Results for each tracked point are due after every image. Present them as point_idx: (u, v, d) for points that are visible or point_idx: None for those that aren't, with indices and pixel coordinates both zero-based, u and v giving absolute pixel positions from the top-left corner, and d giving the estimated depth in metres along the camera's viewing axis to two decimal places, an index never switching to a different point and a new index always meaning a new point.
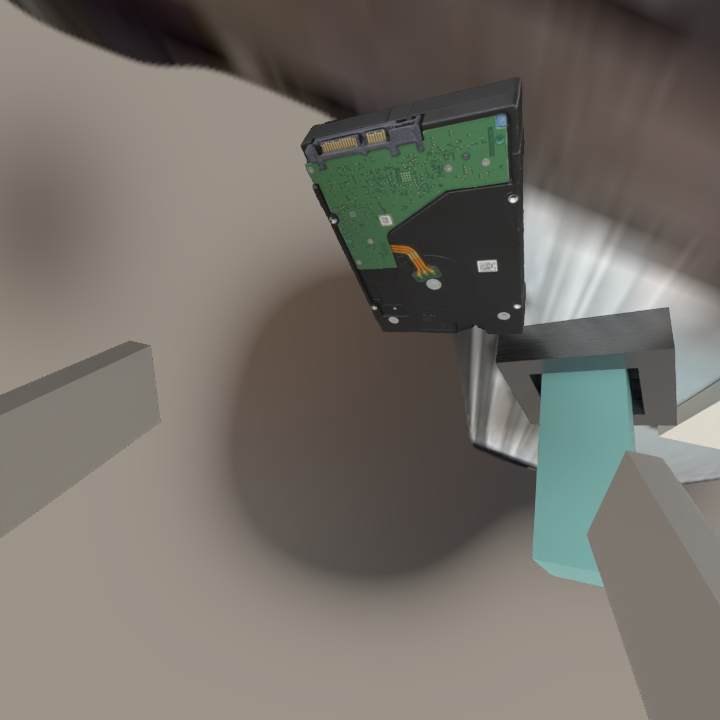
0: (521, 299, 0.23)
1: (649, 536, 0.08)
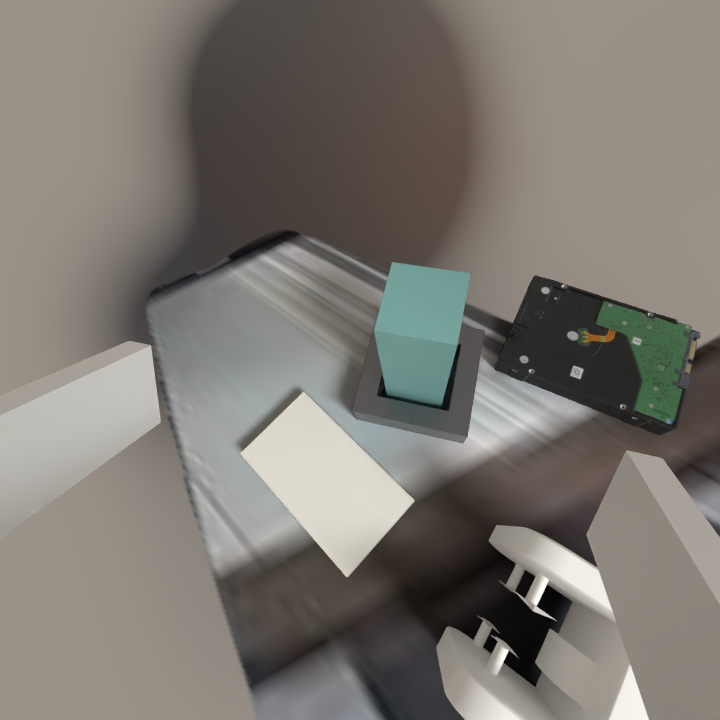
0: (537, 376, 0.34)
1: (650, 536, 0.08)
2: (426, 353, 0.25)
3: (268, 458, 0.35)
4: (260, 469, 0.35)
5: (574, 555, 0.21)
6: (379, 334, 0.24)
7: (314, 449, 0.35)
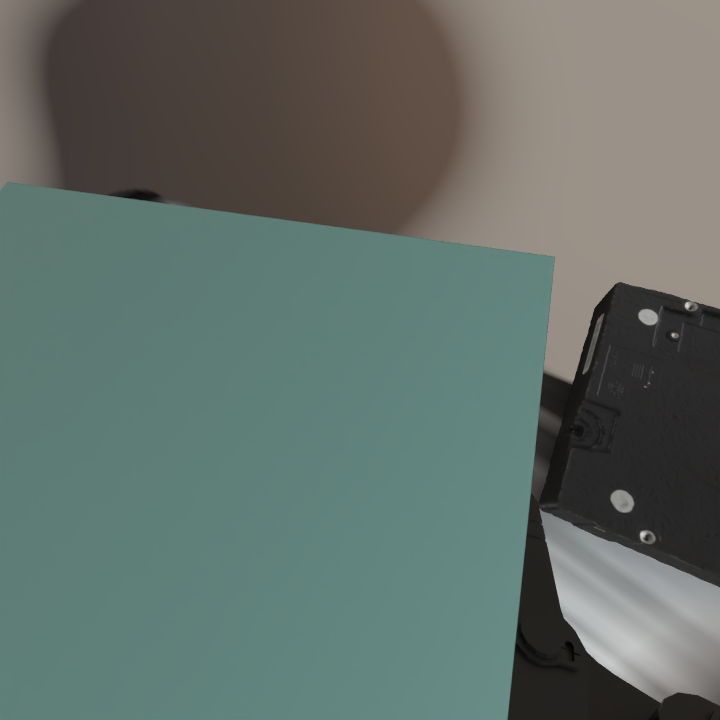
0: (664, 552, 0.13)
1: None
2: None
3: None
4: None
5: None
6: None
7: None
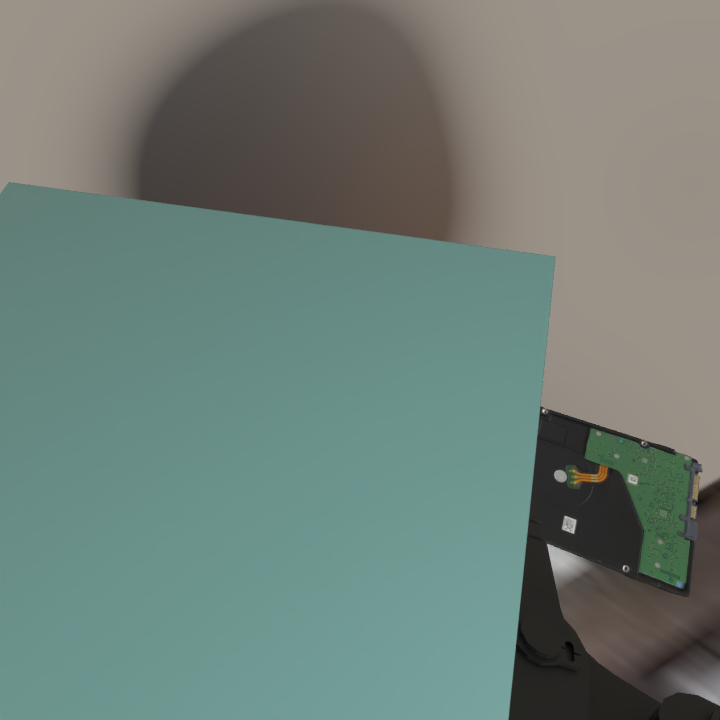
0: None
1: None
2: None
3: None
4: None
5: None
6: None
7: None
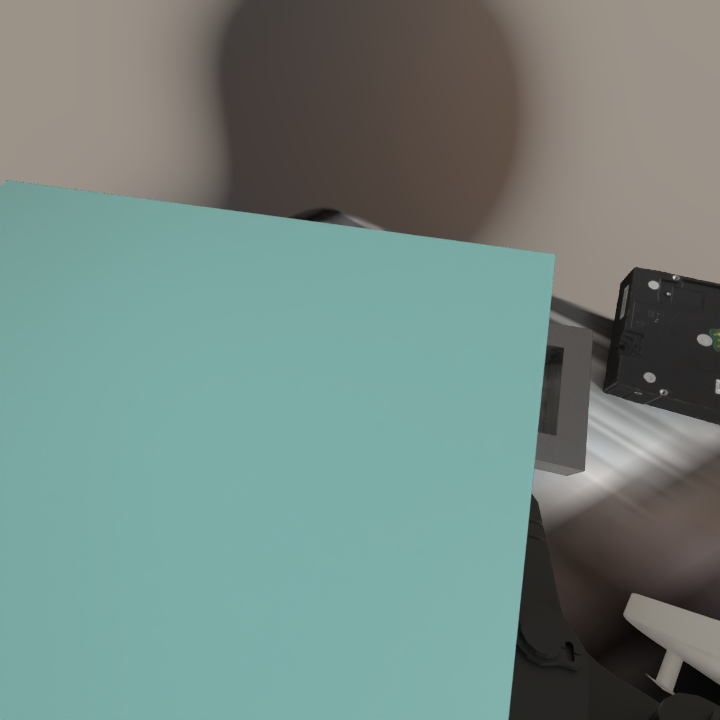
0: (672, 398, 0.26)
1: None
2: None
3: None
4: None
5: None
6: None
7: None
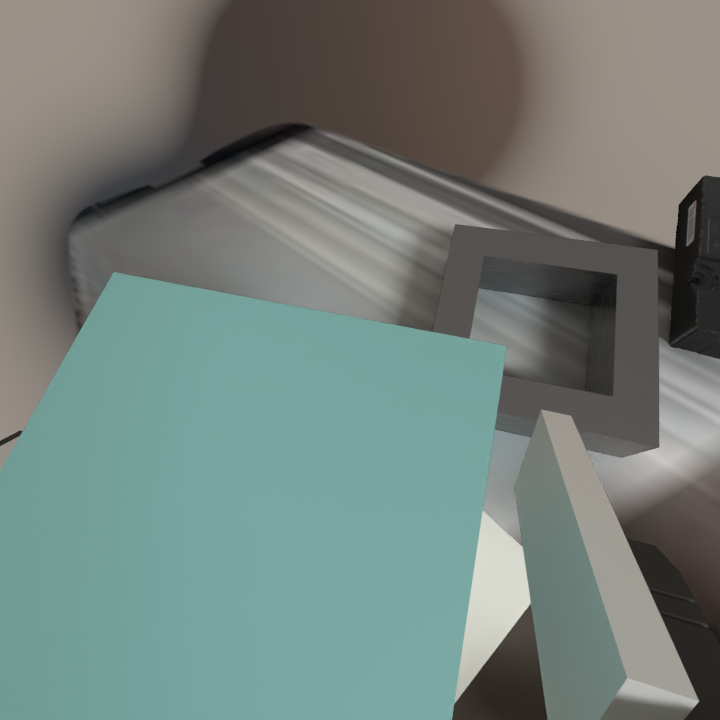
0: None
1: (546, 474, 0.09)
2: None
3: None
4: None
5: None
6: None
7: None
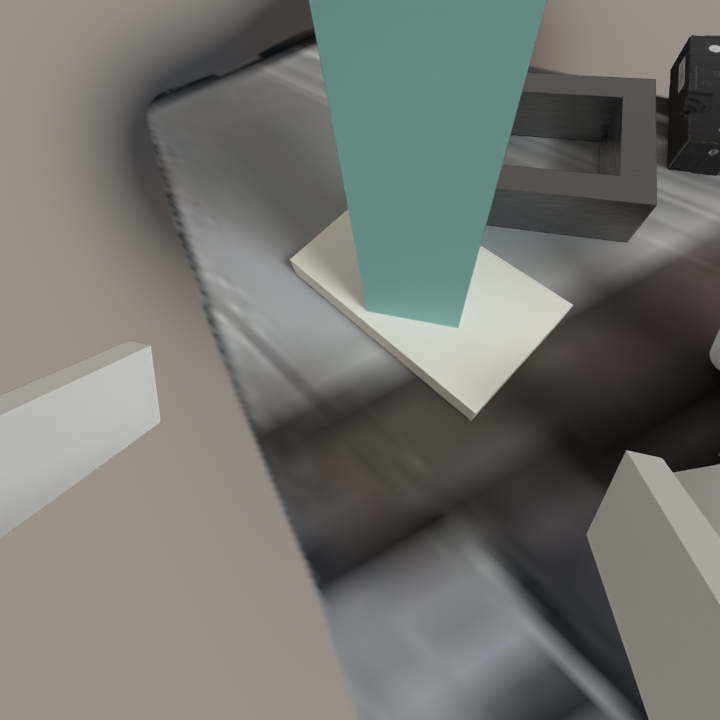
0: None
1: (649, 535, 0.08)
2: (449, 68, 0.09)
3: (333, 263, 0.23)
4: (322, 277, 0.23)
5: None
6: None
7: None
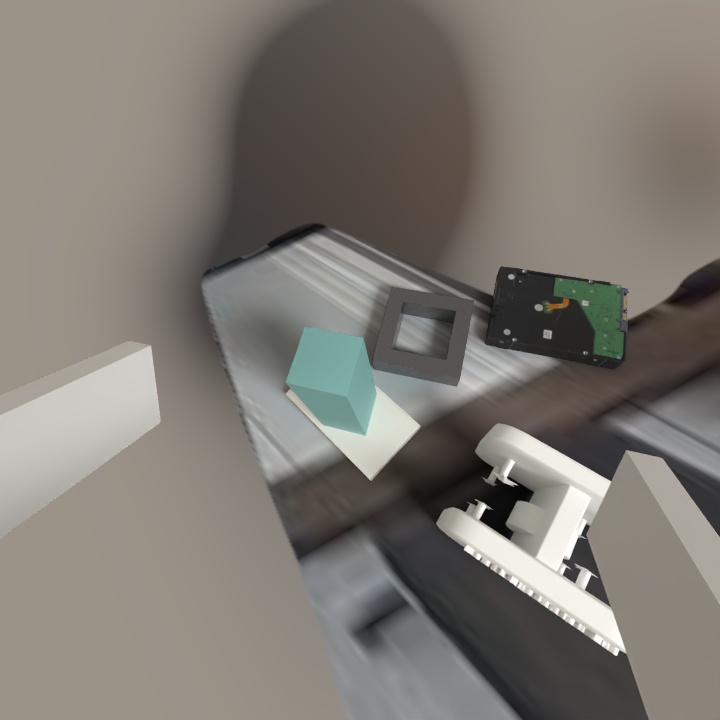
0: (519, 342, 0.45)
1: (649, 536, 0.08)
2: (329, 399, 0.32)
3: None
4: (301, 405, 0.45)
5: (529, 435, 0.32)
6: (290, 385, 0.31)
7: None
